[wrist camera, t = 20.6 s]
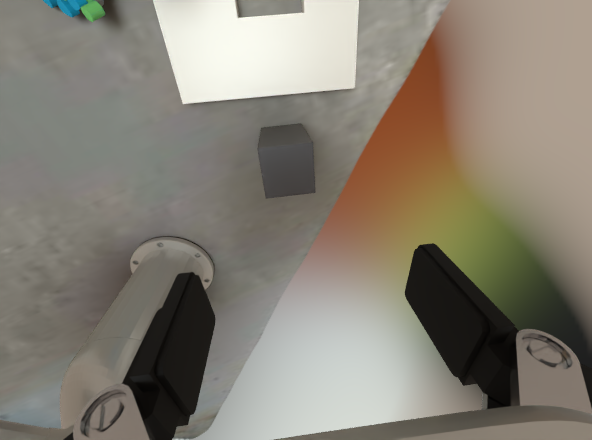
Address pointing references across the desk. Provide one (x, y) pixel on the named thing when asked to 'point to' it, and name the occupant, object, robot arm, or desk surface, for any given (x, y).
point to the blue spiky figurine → (79, 7)
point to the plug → (286, 161)
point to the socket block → (258, 48)
